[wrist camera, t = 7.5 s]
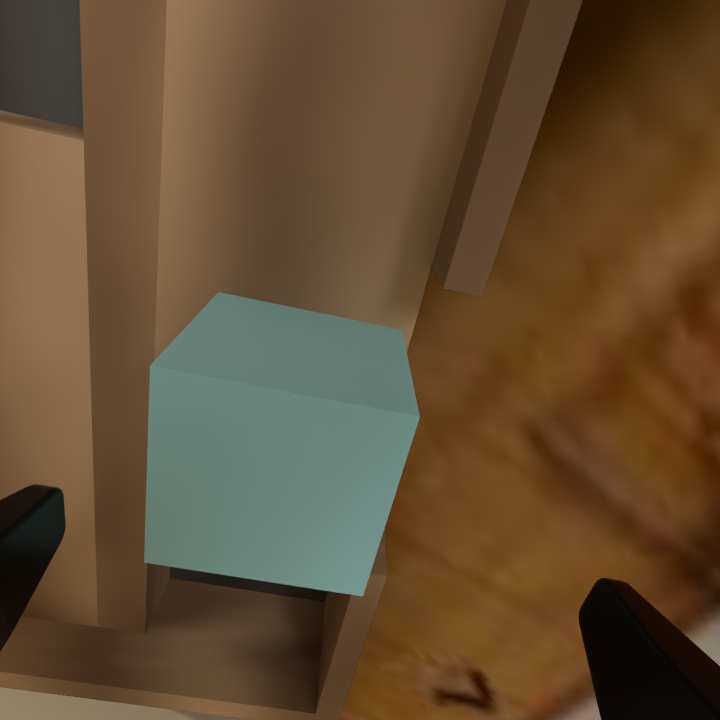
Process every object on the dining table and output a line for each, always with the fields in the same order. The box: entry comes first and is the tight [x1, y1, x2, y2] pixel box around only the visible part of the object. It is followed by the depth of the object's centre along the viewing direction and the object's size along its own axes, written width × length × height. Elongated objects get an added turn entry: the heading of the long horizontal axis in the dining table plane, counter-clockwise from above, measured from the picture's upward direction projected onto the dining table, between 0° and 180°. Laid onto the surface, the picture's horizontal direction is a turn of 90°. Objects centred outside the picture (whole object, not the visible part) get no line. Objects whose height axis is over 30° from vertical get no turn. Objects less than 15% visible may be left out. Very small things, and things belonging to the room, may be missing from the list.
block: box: [144, 292, 420, 596], centre depth 11 cm, size 4×4×4 cm
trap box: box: [0, 0, 583, 720], centre depth 12 cm, size 16×25×4 cm, turn 168°
